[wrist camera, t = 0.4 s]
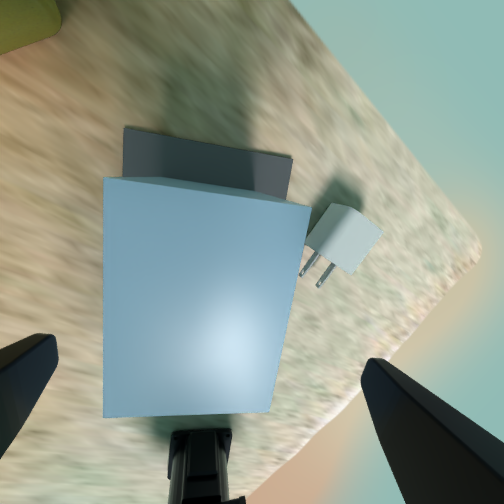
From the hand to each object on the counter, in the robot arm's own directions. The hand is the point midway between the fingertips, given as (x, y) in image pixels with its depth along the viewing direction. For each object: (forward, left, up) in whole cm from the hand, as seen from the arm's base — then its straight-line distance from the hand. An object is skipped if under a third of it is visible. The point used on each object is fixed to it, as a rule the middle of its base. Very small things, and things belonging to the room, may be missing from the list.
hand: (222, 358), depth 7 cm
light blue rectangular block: (-1, 0, -15) cm, 15 cm away
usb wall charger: (+1, -11, -16) cm, 19 cm away
